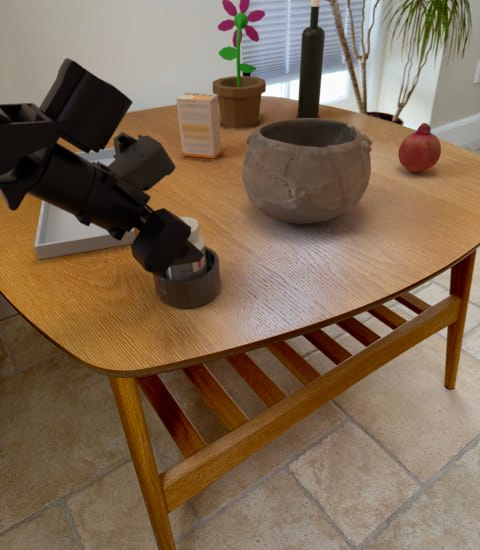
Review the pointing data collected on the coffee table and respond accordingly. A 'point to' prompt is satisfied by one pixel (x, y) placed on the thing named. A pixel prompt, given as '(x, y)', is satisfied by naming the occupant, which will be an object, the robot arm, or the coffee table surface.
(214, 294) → the charcoal bowl
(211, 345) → the coffee table surface
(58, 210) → the serving dish
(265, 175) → the clay pot
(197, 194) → the coffee table surface
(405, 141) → the fruit
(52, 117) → the robot arm
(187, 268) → the pill bottle
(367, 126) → the coffee table surface
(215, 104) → the supplement box
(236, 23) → the flowerpot
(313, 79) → the wine bottle
